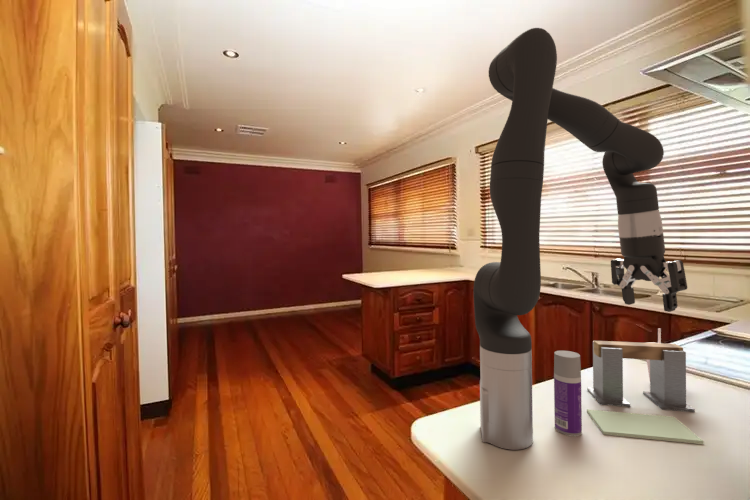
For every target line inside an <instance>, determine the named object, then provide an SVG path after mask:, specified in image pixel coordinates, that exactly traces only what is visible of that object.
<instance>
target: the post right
mask: <svg viewBox="0 0 750 500" xmlns="http://www.w3.org/2000/svg"><path fill="white" fill-rule="evenodd" d="M642 395H644V396H645V397H646V398H648V399H649V401H651V402H652V403H653V404H655V405H656V406H657V407H658V408H659V409H661V410H664V411H665V410H666V411H678V412H689V413H692V412H693V413H695V411H696V410H695V408H693V406H691V405H689V404H688V403H687V352H686V351H684V350H683V351H678V350H662V360H650V379H649V391H643V392H642Z"/></svg>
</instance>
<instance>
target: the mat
mask: <svg viewBox="0 0 750 500" xmlns="http://www.w3.org/2000/svg"><path fill="white" fill-rule="evenodd" d="M586 413H587V415H588V416H589V417H590V418H591V420H592V421H593V422H594V424H595V425H596V426H597V428H598V429H599V431H600V432H601V433H602V435H606V436H616V437H626V438H627V437H628V438H635V439H636V438H637V439H647V440H657V441H667V442H678V443H685V444H686V443H687V444H688V443H689V444H698V445H704V443H705V441H704V440H703V439H702V438H701V437H699V436H698V435H697V434H696V433H695V432H694V431H692V430H691V429H690V428H689V427H687V426H686V425H685V424H684V423H682V422H681V421H680V420H678V418H676V417H675V416H670V415H658V414H647V413H636V412H632V413H631V412H623V411H612V410H611V411H609V410H599V409H586Z"/></svg>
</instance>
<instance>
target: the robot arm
mask: <svg viewBox="0 0 750 500" xmlns="http://www.w3.org/2000/svg"><path fill="white" fill-rule="evenodd" d="M557 52H558V51H557V46H556V43H555V40H554V38H553V37H552V35H551V33H550V32H549V31H547V30H546V29H545V28H542V27H532V28H529V29H527V30H525V31H523V32H522V33H520V34H519V35H518V36H516V37H515V38H514V39H513V40H512V41H511V42H510V43H509V44H507V46H505V47H504V48H503V49H501V51H499V53H498V54H496V55H495V57H494V58H493V59H492V60H491V62H490V64H489V67H488V80H489V81H490V85H491V86H492V88H493V89H494V90H495V91H496V92H497V93H498V94H500V95H501V96H503V97H504V98H506V99H508V100H510V101H512V102H511V107H510V111H509V113H508V117H507V120H506V122H505V124H504V126H503V129H502V130H501V133H500V136H499V138H498V140H497V143H496V146H495V148H494V151H493V155H492V159H491V164H490V174H489V175H490V176H489V195H490V201H491V204H492V207H493V211H494V212H495V214H496V215H495V216H496V218H497V221H498V223H499V226H500V231H501V256H500V262H499V261H498V262H497V261H493V262H488V263H486V264H484V265H482V267H480V268H479V270H478V271H477V272H476V275H475V277H474V280H473V291H472V292H473V309H474V323H475V325H474V326H475V330H476V332H477V334H478V337H479V362H480V363H479V366H480V368H479V369H480V370H479V371H480V380H479V406H480V407H479V408H480V410H479V412H480V413H479V414H480V415H479V416H480V419H479V420H480V432H481V441H482V442H483V443H489V444H491V445H493V446H495V447H498V448H501V449H506V450H518V451H519V450H523V449H527V448H529V447H531V445H532V444H533V442H534V424H533V423H534V421H533V412H534V411H533V365H532V364H533V362H532V361H533V356H532V353H533V352H532V335H531V333H530V332H529V331H528V330H527V329H526V328H525V326H524V325H523V323H521V321H520V320H519V317H518V316H524V315H527V314H528V313H530V312H531V311H532V310H533V309H534V308H536V307H535V306H536V305H537V303H538V301H539V297H540V294H541V285H542V283H541V282H542V277H541V276H542V275H541V250H540V249H541V246H540V245H541V244H540V234H541V233H540V232H541V231H540V230H541V229H540V227H541V208H542V207H541V206H542V194H543V187H544V186H543V185H544V176H545V174H544V173H545V149H546V139H547V130H548V121H550V122H552V123H554V124H556V125H558V126H559V127H561V128H562V129H563V130H564V131H566V132H568V133H569V134H570V135H572V136H573V137H574V138H575V139H577V140H578V141H579V142H581V143H582V144H583V145H584V146H586V147H587V148H589V149H590V150H591V151H593V152H596V153H604V154H603V157H602V162H601V163H602V168H603V172H604V174H605V176H606V178H607V181H608V183H609V185H610V187H611V189H612V192H613V193H614V196H615V198H616V199H615V200H616V209H617V228H618V236H619V245H620V255H622V257H623V258H622V257H619V258H618V257H617V258H613V259H611V260H610V270H611V271H610V273H611V283H612V285H615V286H618V287H619V288H621V294H622V301H623V302H624V304H625V305H628V306H629V305H634V304H635V303H636V298H635V292H634V291H635V290H634V287H633V286H634V284H635V282H636V281H641V280H643V281H645V282H652V283H653V284H654V285H655V286H657V287H658V288H659V289H660V290H661V292H662V295H661V296H662V303H663V310H664V311H665V312H669V313H671V312H673V311H675V310H676V309H677V308H678V296H677V293H678V292H682V291H686V290H688V283H687V277H686V273H685V266H684V262H683V261H682V260H679V259H678V260H674V261H666V259H665V253H666V246H665V237H664V236H665V235H664V230H663V229H664V227H663V220H662V216H661V213H660V207H659V197H658V190H657V186H655V184H653V183H650V182H639V181H638V180H637V178H636V177H635V175H634V174H635V173H640V172H645V171H646V172H647V171H649V170H652V169H654V168H656V167H657V166H658V165H659V164H661V162H662V161H663V159H664V155H665V152H664V151H665V150H664V146H663V144H662V143H661V141H660V140H659V138H657V136H655V135H654V134H652V133H651V132H649V131H646V130H644V129H642V128H639V127H636V126H634V125H632V124H629V123H626V122H624V121H621V120H620V119H619V118H618V117H617V116H615V115H614V114H613V113H612V112H610V110H608V109H607V108H606V107H604V105H602V104H600V103H598V102H596V101H594V100H592V99H590V98H586V97H583V96H579V95H576V94H571V93H568V92H564V91H561V90H559V89H557V88H554V83H555V77H556V72H557V63H558V53H557ZM625 269H626V271H625ZM665 270H666V271H665ZM667 272H668V273H667Z"/></svg>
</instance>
